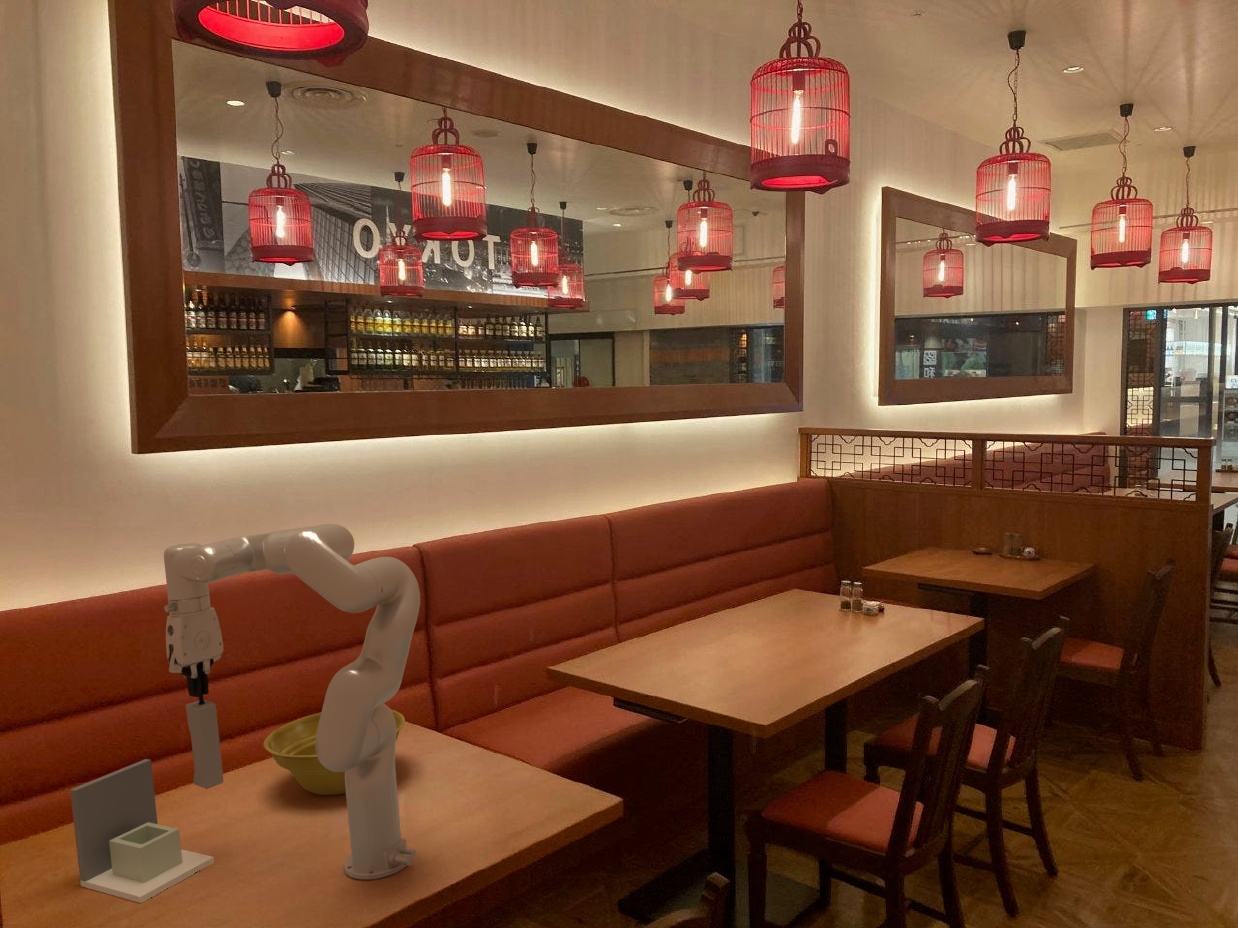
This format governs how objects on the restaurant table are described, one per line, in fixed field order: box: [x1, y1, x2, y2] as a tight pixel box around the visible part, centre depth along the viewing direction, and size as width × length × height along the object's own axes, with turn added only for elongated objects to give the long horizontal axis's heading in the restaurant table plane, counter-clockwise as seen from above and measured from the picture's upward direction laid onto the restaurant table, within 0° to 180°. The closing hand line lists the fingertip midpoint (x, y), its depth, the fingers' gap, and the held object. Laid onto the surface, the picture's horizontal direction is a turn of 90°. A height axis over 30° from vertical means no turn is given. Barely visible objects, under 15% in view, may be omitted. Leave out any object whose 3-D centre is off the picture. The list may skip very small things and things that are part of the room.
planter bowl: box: [263, 708, 406, 796], centre depth 222 cm, size 32×32×13 cm
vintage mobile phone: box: [185, 664, 225, 790], centre depth 189 cm, size 4×5×25 cm
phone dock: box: [69, 758, 215, 904], centre depth 182 cm, size 18×16×19 cm
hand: (199, 694), depth 188 cm, fingers closed on vintage mobile phone, 1 cm apart
